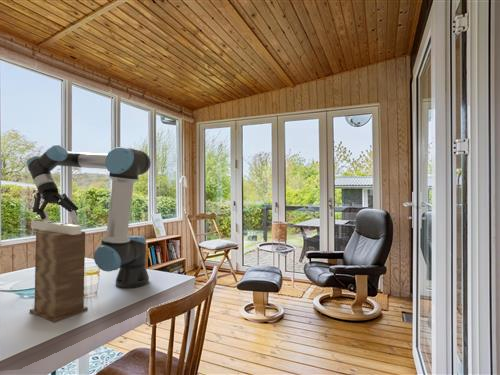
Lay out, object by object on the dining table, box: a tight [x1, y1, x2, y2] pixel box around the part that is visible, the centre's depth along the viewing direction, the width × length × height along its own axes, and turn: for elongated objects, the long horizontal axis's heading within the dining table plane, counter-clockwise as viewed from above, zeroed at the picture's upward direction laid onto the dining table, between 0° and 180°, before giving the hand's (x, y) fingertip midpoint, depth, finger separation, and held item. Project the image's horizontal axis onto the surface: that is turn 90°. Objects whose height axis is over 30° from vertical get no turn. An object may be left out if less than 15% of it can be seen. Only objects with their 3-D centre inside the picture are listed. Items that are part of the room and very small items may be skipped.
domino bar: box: [30, 219, 82, 235], centre depth 112 cm, size 28×3×3 cm, turn 62°
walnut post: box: [29, 230, 89, 323], centre depth 110 cm, size 16×12×30 cm
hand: (63, 224), depth 132 cm, fingers open, 13 cm apart
